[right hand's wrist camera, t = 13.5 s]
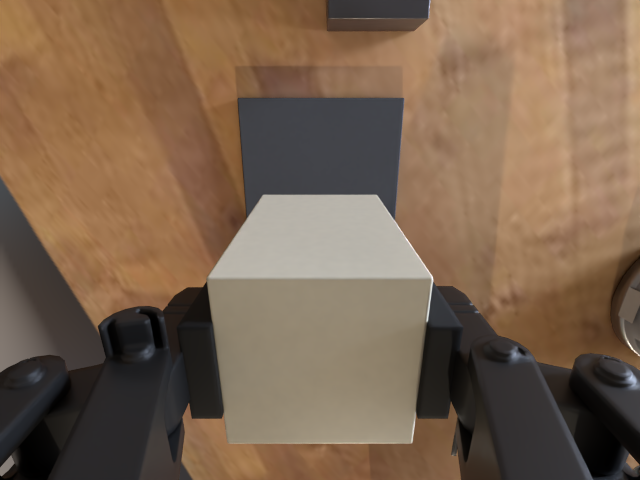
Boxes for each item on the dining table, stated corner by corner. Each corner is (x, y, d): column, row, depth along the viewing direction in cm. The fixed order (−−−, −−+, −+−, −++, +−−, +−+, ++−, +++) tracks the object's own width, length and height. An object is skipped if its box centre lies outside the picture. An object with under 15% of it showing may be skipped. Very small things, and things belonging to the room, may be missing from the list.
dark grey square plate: (402, 98, 30) (404, 98, 29) (391, 250, 34) (392, 252, 34) (239, 98, 30) (237, 98, 29) (250, 250, 34) (249, 252, 34)
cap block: (262, 194, 15) (205, 277, 8) (377, 194, 15) (434, 277, 8) (268, 295, 17) (226, 444, 9) (371, 295, 17) (413, 444, 9)
